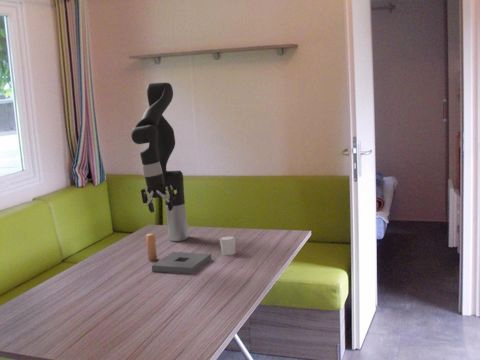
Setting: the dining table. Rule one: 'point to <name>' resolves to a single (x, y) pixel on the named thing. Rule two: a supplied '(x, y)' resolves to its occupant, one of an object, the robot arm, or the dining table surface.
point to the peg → (151, 247)
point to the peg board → (181, 262)
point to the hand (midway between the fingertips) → (161, 211)
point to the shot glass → (227, 245)
